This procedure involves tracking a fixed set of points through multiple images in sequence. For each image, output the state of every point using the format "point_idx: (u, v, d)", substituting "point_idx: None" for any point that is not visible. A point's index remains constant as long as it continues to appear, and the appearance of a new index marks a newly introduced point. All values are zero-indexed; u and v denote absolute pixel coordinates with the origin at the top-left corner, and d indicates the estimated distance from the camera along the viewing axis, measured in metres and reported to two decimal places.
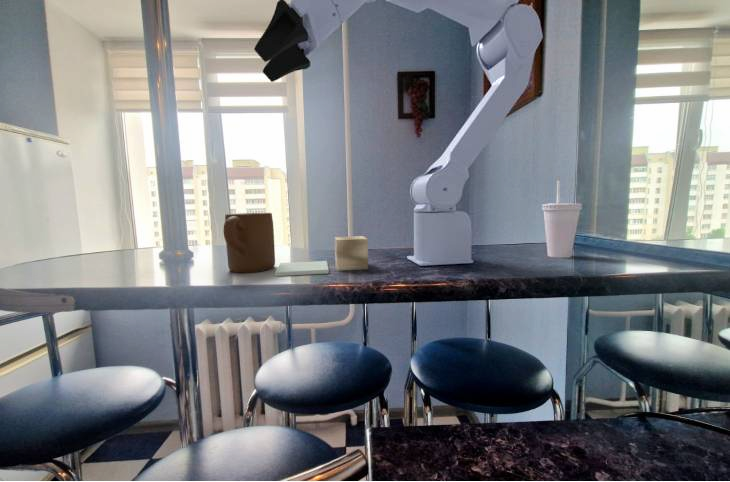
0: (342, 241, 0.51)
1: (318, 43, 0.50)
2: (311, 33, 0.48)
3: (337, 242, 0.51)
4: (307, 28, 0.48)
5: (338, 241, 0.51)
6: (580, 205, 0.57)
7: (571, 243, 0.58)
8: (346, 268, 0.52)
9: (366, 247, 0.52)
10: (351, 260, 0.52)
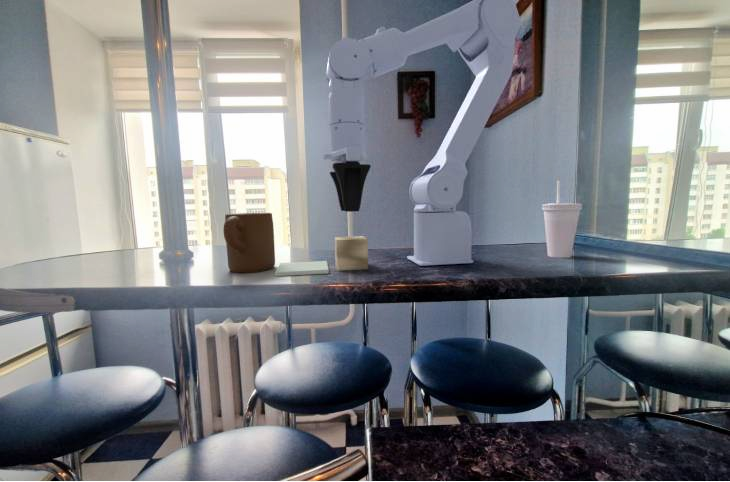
0: (342, 241, 0.51)
1: (366, 157, 0.53)
2: (360, 157, 0.51)
3: (337, 242, 0.51)
4: None
5: (338, 241, 0.51)
6: (580, 205, 0.57)
7: (571, 243, 0.58)
8: (346, 268, 0.52)
9: (366, 247, 0.52)
10: (351, 260, 0.52)
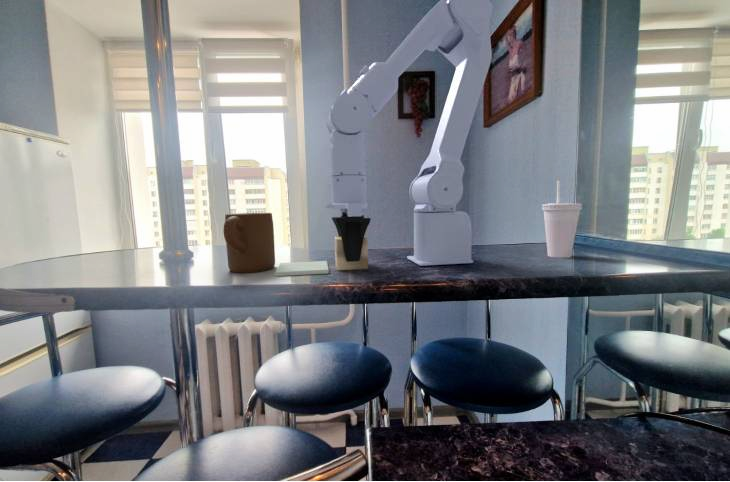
0: None
1: (367, 206, 0.53)
2: None
3: (337, 241, 0.51)
4: None
5: (338, 240, 0.51)
6: (580, 205, 0.57)
7: (571, 243, 0.58)
8: (346, 267, 0.52)
9: (366, 246, 0.52)
10: None
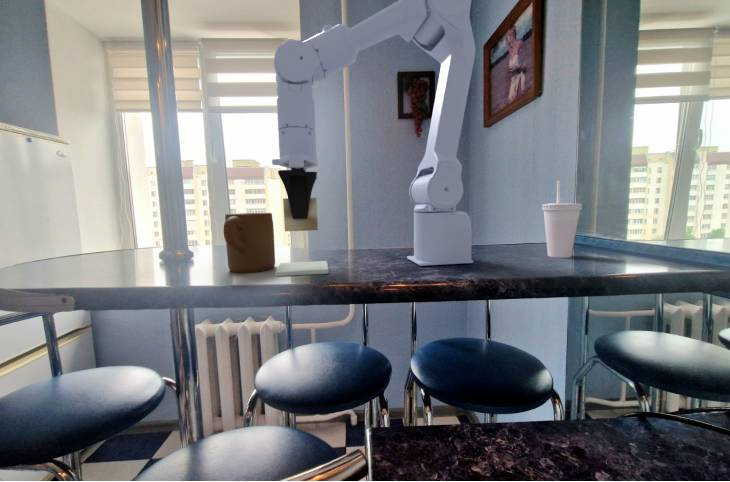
0: None
1: (317, 162, 0.51)
2: (309, 163, 0.49)
3: (284, 201, 0.49)
4: (305, 164, 0.49)
5: (285, 199, 0.49)
6: (580, 205, 0.57)
7: (571, 243, 0.58)
8: (294, 228, 0.50)
9: (315, 206, 0.50)
10: (299, 220, 0.50)
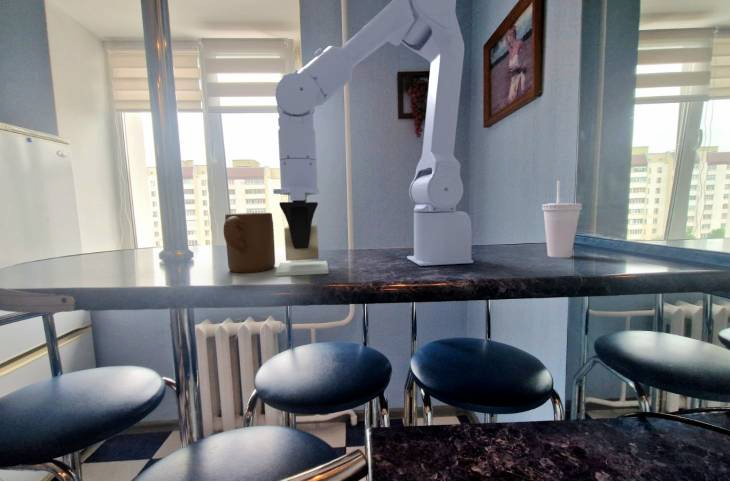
0: None
1: (318, 191, 0.51)
2: (310, 193, 0.50)
3: (285, 230, 0.50)
4: (307, 194, 0.49)
5: (286, 229, 0.49)
6: (580, 205, 0.57)
7: (571, 243, 0.58)
8: (295, 258, 0.50)
9: (316, 236, 0.50)
10: (300, 250, 0.50)
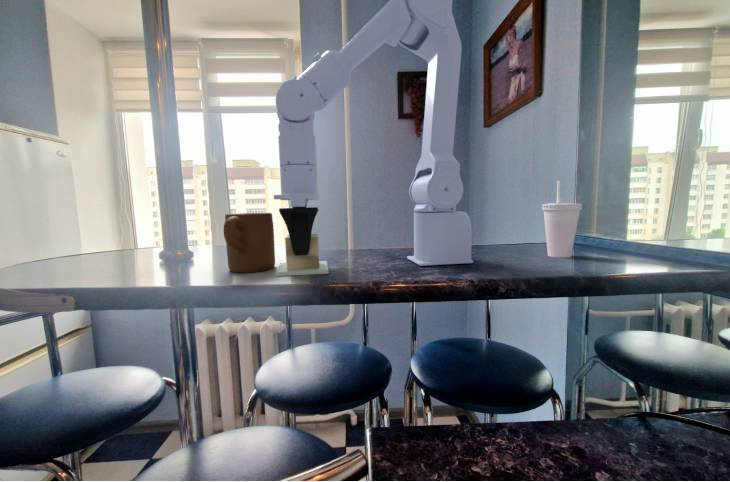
0: None
1: (318, 197, 0.52)
2: None
3: (286, 240, 0.50)
4: (307, 200, 0.49)
5: (287, 239, 0.50)
6: (580, 205, 0.57)
7: (571, 243, 0.58)
8: (296, 267, 0.50)
9: (317, 245, 0.50)
10: (301, 259, 0.50)
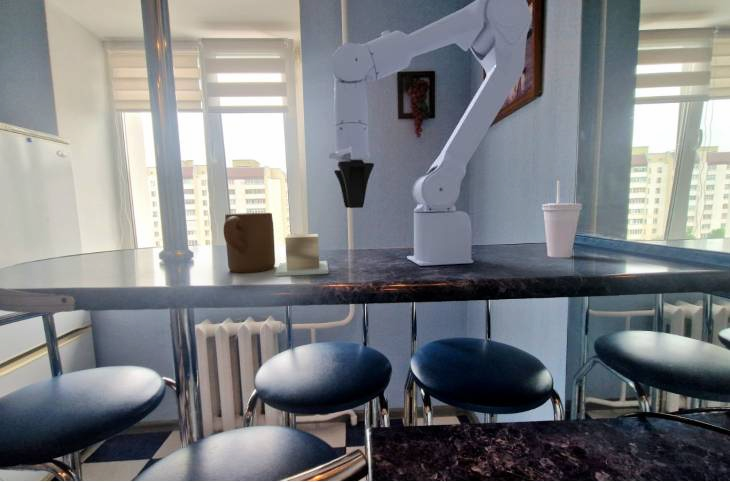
0: (291, 239, 0.50)
1: (369, 156, 0.55)
2: None
3: (286, 240, 0.50)
4: None
5: (287, 239, 0.50)
6: (580, 205, 0.57)
7: (571, 243, 0.58)
8: (296, 267, 0.50)
9: (317, 245, 0.50)
10: (301, 259, 0.50)
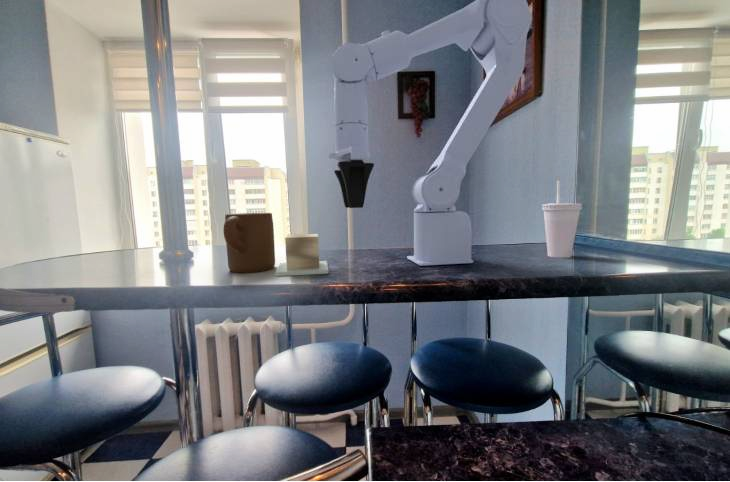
0: (291, 239, 0.50)
1: (369, 156, 0.55)
2: None
3: (286, 240, 0.50)
4: None
5: (287, 239, 0.50)
6: (580, 205, 0.57)
7: (571, 243, 0.58)
8: (296, 267, 0.50)
9: (317, 245, 0.50)
10: (301, 259, 0.50)
